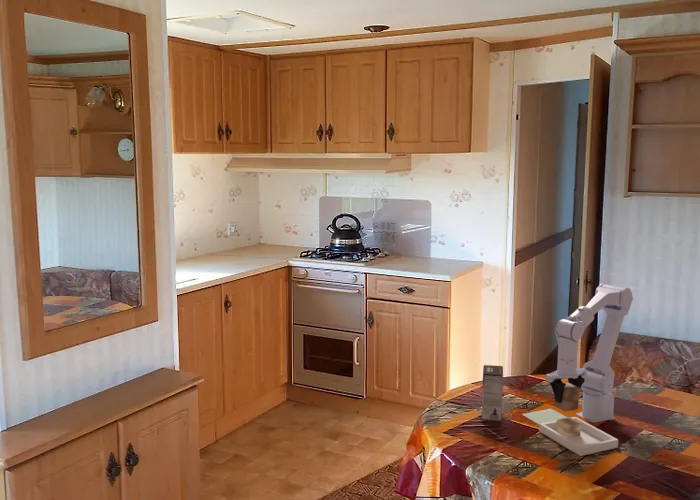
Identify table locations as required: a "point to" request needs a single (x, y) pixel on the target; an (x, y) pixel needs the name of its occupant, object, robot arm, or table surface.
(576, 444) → the bin
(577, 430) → the plain box
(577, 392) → the labelled box
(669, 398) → the table surface
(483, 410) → the coffee box
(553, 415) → the tile
